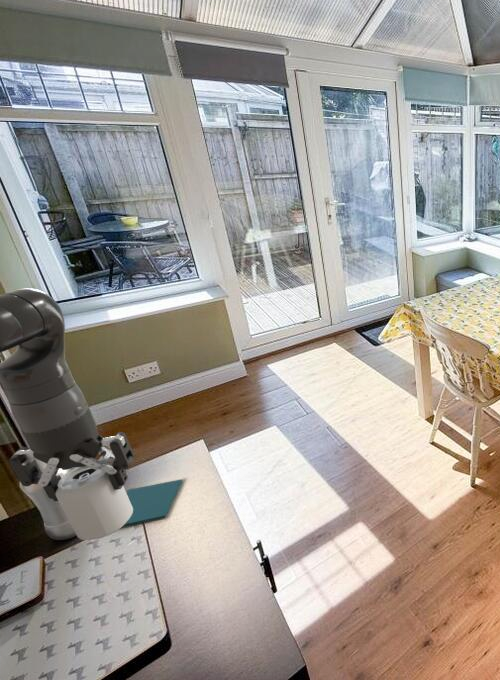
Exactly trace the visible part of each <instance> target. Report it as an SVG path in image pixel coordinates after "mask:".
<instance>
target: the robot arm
mask: <svg viewBox="0 0 500 680" xmlns="http://www.w3.org/2000/svg"><path fill="white" fill-rule="evenodd" d="M65 322H66V321H65V317H64V312H63V310H62V308H61V306H60V305H59V304H58V302H57V301H56V300H55V299H54V298H53V297H52V296H50V295H49V294H48V293H46V292H43V291H42V290H39V289H35V288H27V287H25V288H20V289H15V290H12V291H8V292H5V293H2V294H0V353H3V352H6V351H8V350H11V349H12V348H13V349H14V348H15V347H16V350H15V351H14V352H13V353H12V354H10V355H9V356H8V357H7V358H5V359H4V360H2V362H0V389H1V391H2V393H3V395H4V396H5V398H6V400H7V403H8V405H9V409H10V411H11V412H10V413H11V415H12V418H13V420H14V422H15V423H16V425H17V427H18V429H19V431H20V433H21V435H22V436H23V438H24V440H25V442H26V444H27V446H22V447H20V448H19V449H18V450H17V451H15V452H14V453H13V455H12V456H11V457H9V459H8V463H9V464H10V466H11V468H12V469H13V471H14V473H15V475H16V477H17V478H18V480H19V483H20V482H21V484H22V485H23V486H30V485H32V484H38V485H39V486H41V487H43V488H44V490H45V492H46V494H47V495H48V497H49V498H50V499H53V500H54V501H58V499H57V497H56V491H57V489H58V486H57V485H58V482H59V481H60V480H61V477H60V475H59V476H56V474H57V472H58V470H59V469H62V470H67V469H74V468H77V467H84V466H88V467H90V468H92V469H94V470H97V469H100V470H102V471H104V472H106V473H108V477H109V479H110V481H111V483H112V485H113V488H114V490H118V489H121V488H122V486H124V485H126V482H127V481H128V478H129V476H128V474H127V471H126V469H128V468H129V467H130V465H131V464H132V462H133V461H134V459H135V456H136V455H135V453H134V450H133V448H132V446H131V444H130V441H129V439H128V437H127V434H126V433H125V432H123V431H119V432H117V433H116V434H115V435H114V436H109V437H104V436H102V435H100V433H99V432H98V426H97V423H96V420H95V418H94V416H93V414H92V411H91V409H90V407H89V405H88V402H87V399H86V397H85V395H84V393H83V391H82V390H81V388H80V387H79V385H78V384H77V382H76V381H75V378H74V377H73V374H72V371H71V369H70V367H69V365H68V362H67V360H66V323H65ZM98 455H99V456H100V457H99V459H96V458H97V457H98ZM35 458H36V459H37V460H40V461H42V462H44V463H46V464H47V466H46V467H45V469H44V471H43V472H41V470H40V468H39V466H38V464H37V462H36V460H35Z"/></svg>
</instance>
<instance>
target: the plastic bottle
mask: <svg viewBox="0 0 500 680" xmlns="http://www.w3.org/2000/svg"><path fill="white" fill-rule="evenodd" d="M35 460H36V462H37V464H38V466H39V468H40V470H41V472H43V471H44V469H45V467H46V466H47V464H46V463H44V462H42V461H40V460H37V459H36V458H35ZM70 471H72V468H70V469H67V470H62V469H59V470H58V472H57V474H56V476H59V475H60V477H61V478H62V477H63V476H64V475H66V474H67V473H68V472H70ZM19 488H20V490H21V491H22V492H23V493H24V494H26V496H27V497H28V498H29V499H30V500H31V501H32V502H33V504H34V505H35V507H36V508H37V510H38V511H39V513H40V516H41V519H42V521H43V527H44V531H45V534H46V535H47V536H48V537H49V538H51V540H56V541H65V540H70V539H72V538H75V537H77V535H76V533H75V531H74V529H73V527H72V525H71V523H70V522H69V520H68V518H67V516H66V514H65V512H64V510H63V508H62V507H61V505H60V503H59V501H54V500H53V499H50V498H49V497H48V495H47V494H46V492H45V490H44V488H43V487H41V486H39V485H38V484H32V485H30V486H23V485H22V484H21V482H20V481H19Z"/></svg>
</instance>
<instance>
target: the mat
mask: <svg viewBox="0 0 500 680" xmlns="http://www.w3.org/2000/svg"><path fill="white" fill-rule="evenodd" d="M182 483H183V479H175V480H171V481H167V482H161V483H156V484H151V485H146V486H141V487H137V488H131V489H128V490H127V491H126V493H127V496H128V498H129V500H130V502H131V505H132V507H133V513H132V515H131V517H130V519H129V520H128V521H127V522H126V523H125V524H124V525H123V526H122V527H121V528H124V527H128V526H133V525H137V524H143V523H146V522H147V523H148V522H150V521H156V520H161V519H163V518H164V519H165V518H167V515H168V514H169V511H170V509H171V507H172V504H173V502H174V501H175V498H176V496H177V494H178V492H179V489H180V487H181V486H182Z"/></svg>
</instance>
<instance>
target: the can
mask: <svg viewBox="0 0 500 680" xmlns="http://www.w3.org/2000/svg"><path fill="white" fill-rule="evenodd" d="M57 486H58V489H57V491H56V497H57V499H58V501H59V503H60V505H61V507H62V508H63V510H64V512H65V514H66V516H67V518H68V520H69V522H70V523H71V525H72V527H73V529H74V531H75V533H76V537H77V538H78V539H80V540H81V541H92V540H100V539H103V538H105V537H108V536H110V535H112V534H114V533H116V532H117V531H119V530H120V529H121V528H123V527H122V526H123V525H124V524H125V523H126V522H127V521H128V520H129V519H130V517H131V515H132V513H133V507H132V505H131V502H130V500H129V498H128V496H127V491H126V489H125V486H124V485H123V486H122V488H121V489H118V490H114V488H113V485H112V483H111V481H110V479H109V477H108V473H106V472H104V471H102V470H100V469H97V470H94V469H92V468H90V467H88V466H84V467H74V468H72V469H71V471H70V472H68V473H67V474H66V475H64V476H63V477H62V478H61V480H60V481H59V482H58V485H57Z"/></svg>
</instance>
